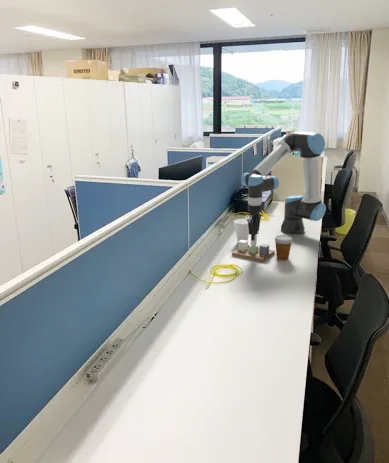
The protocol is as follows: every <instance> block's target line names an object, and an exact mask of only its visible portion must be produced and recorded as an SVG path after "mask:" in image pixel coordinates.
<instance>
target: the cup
mask: <svg viewBox="0 0 389 463" xmlns="http://www.w3.org/2000/svg"><path fill="white" fill-rule="evenodd" d="M247 219H248V218H247ZM247 219H246V218H238V219H235V220H233V222H234V223H233V225H234V231H235V235H236V242H237V244H238V242H239V241H240V240H246V241H248V242H249V235H250V234H249V228H248V221H247Z"/></svg>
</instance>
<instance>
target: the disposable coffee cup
mask: <svg viewBox="0 0 389 463" xmlns="http://www.w3.org/2000/svg"><path fill="white" fill-rule="evenodd" d="M274 242H275V252H276V259H277V260H279V261H288V260H289V257H290V254H291V248H292V243H293V238H292V236H289V235H286V234H280V235H276V236H275V237H274Z"/></svg>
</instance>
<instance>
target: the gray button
mask: <svg viewBox="0 0 389 463" xmlns="http://www.w3.org/2000/svg"><path fill="white" fill-rule="evenodd" d="M258 247H259V254H260V255H264V256H266V255H268V254H269V249H270V245H269V244H265V243H261V244H260V245H258Z"/></svg>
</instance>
